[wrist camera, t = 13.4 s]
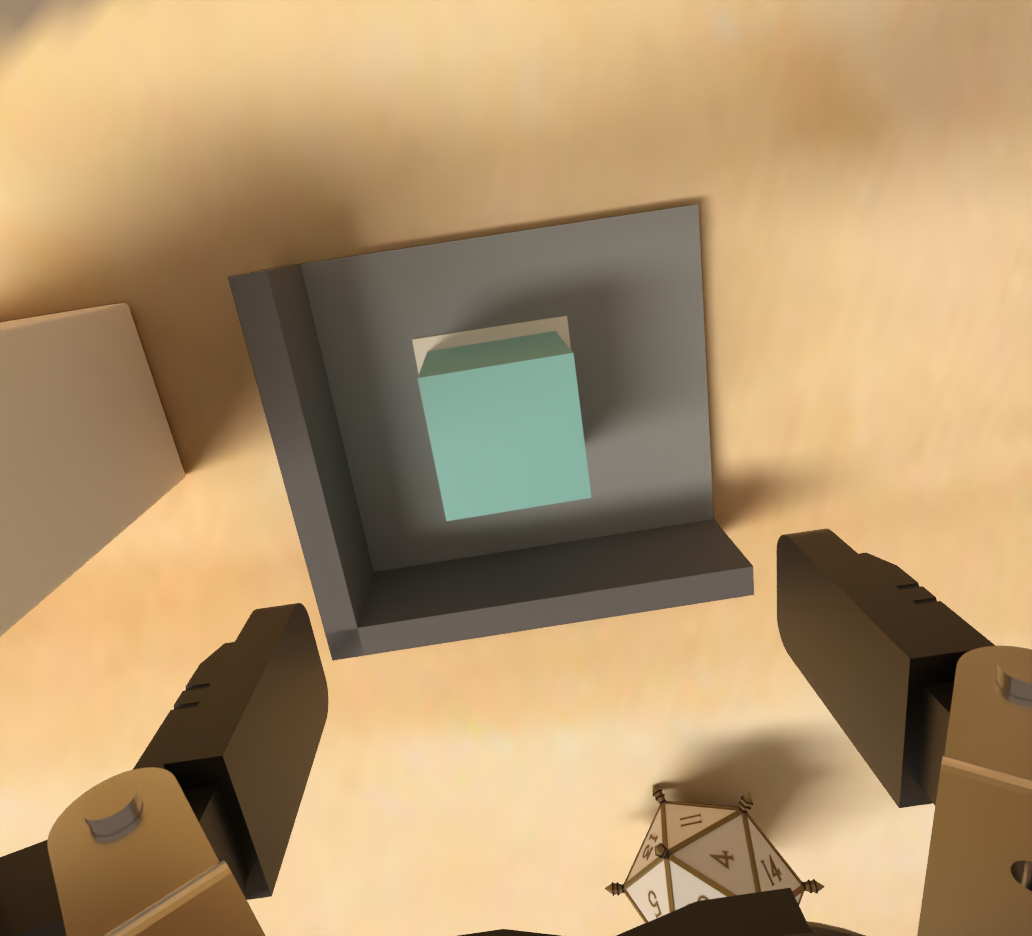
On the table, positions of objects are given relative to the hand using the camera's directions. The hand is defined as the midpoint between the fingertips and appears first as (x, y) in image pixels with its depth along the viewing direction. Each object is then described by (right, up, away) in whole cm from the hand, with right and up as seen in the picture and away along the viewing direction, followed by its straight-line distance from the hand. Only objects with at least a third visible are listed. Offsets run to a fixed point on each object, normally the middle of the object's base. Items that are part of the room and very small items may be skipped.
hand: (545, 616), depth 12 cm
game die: (+8, -16, +25) cm, 30 cm away
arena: (-1, +5, +17) cm, 17 cm away
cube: (-1, +5, +16) cm, 17 cm away
